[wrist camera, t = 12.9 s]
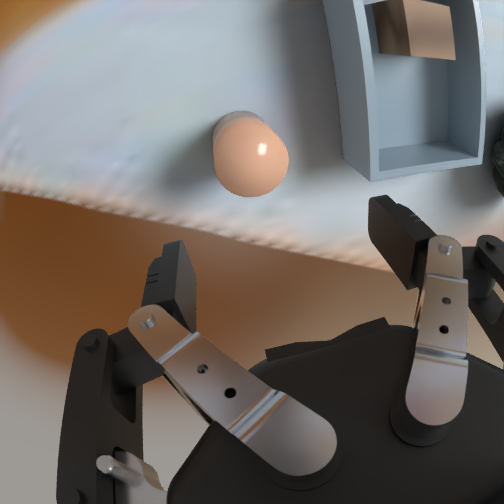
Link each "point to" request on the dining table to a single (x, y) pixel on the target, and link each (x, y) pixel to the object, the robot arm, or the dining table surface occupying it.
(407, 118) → the tote
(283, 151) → the terracotta cylinder
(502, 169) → the squash
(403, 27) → the walnut cube
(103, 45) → the dining table surface
